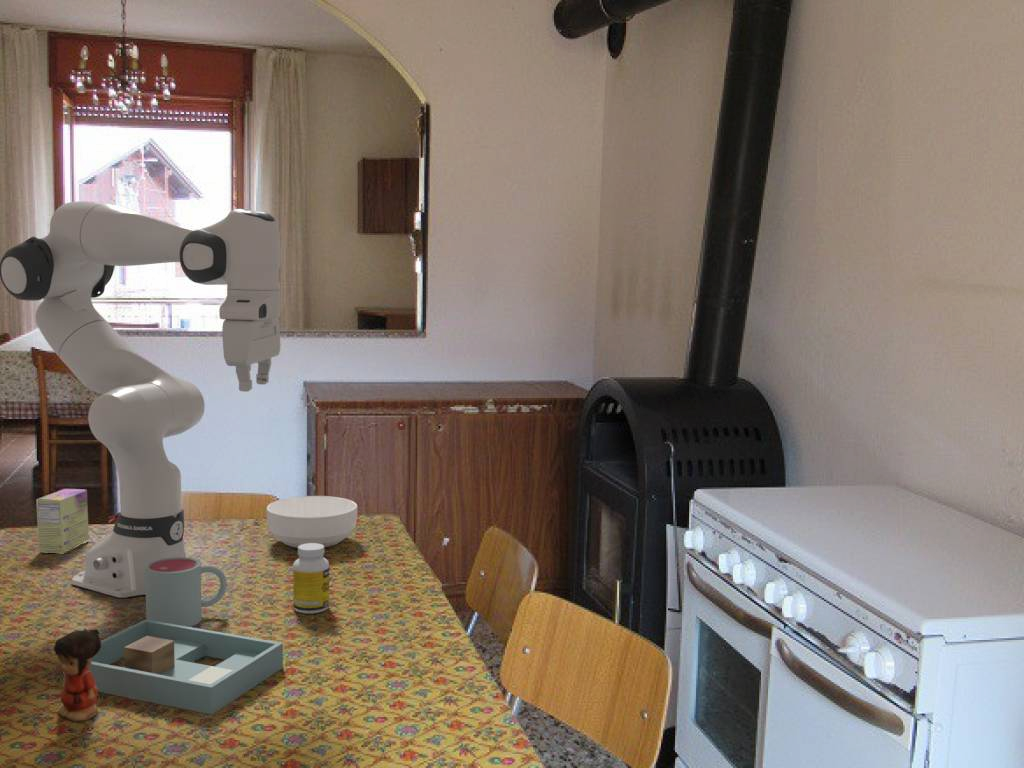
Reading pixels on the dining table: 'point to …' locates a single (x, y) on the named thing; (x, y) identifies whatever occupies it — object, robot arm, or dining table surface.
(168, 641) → the block
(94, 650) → the figurine
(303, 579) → the pill bottle
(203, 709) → the tray
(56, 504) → the box
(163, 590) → the mug
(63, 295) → the robot arm
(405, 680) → the dining table surface
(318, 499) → the bowl
